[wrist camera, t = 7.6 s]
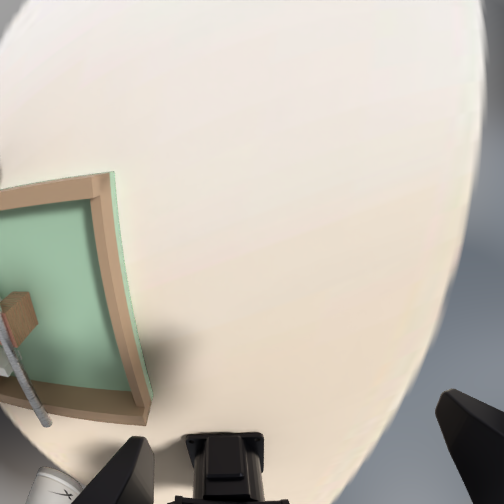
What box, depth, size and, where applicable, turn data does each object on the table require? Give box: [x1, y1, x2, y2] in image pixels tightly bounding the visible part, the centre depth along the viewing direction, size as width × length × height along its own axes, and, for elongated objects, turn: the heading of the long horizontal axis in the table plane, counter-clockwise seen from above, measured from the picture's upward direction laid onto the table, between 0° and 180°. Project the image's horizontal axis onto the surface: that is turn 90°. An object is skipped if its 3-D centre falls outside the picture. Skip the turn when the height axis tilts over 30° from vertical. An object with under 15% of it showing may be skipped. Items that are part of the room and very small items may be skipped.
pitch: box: [0, 171, 153, 426], centre depth 16 cm, size 16×15×4 cm
